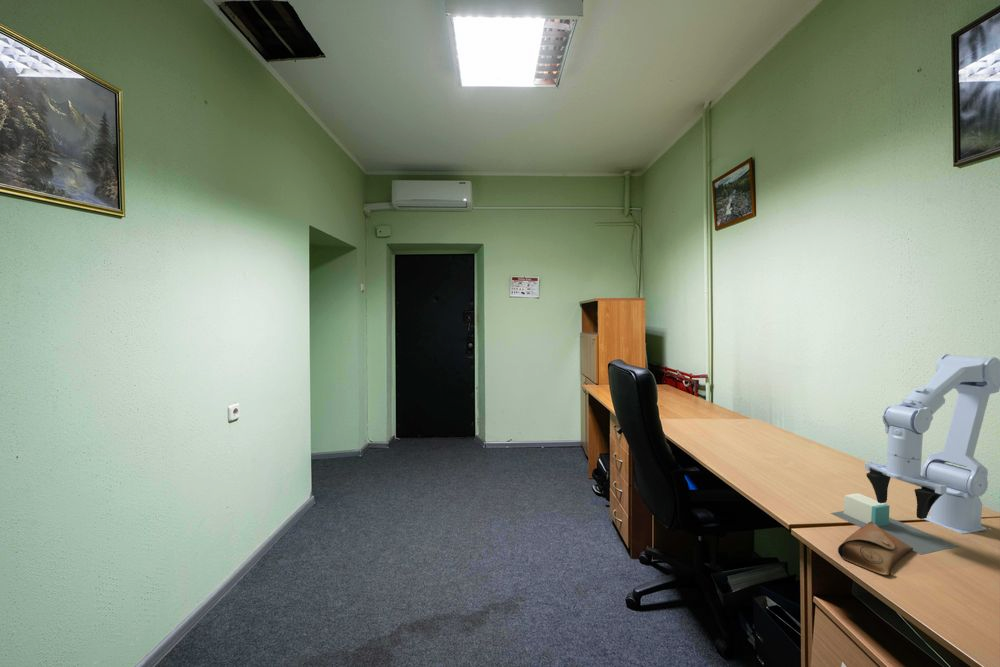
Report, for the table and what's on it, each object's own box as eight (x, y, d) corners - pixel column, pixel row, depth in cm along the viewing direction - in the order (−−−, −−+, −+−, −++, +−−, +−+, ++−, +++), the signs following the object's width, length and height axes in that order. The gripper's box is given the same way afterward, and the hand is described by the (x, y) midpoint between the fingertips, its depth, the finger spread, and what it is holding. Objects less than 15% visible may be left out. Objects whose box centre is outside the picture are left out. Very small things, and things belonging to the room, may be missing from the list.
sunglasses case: (890, 576, 77) (868, 541, 80) (851, 577, 82) (832, 543, 85) (915, 548, 86) (895, 516, 89) (878, 549, 92) (860, 520, 94)
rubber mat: (864, 508, 106) (864, 507, 106) (958, 547, 88) (958, 546, 88) (830, 514, 103) (830, 513, 103) (920, 556, 85) (920, 554, 85)
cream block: (888, 524, 97) (856, 510, 104) (889, 505, 97) (857, 493, 104) (874, 527, 96) (843, 513, 103) (875, 507, 96) (844, 495, 103)
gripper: (857, 446, 98) (854, 497, 99) (933, 468, 84) (929, 527, 85) (876, 444, 100) (874, 494, 101) (954, 465, 86) (950, 523, 87)
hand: (901, 509), depth 93 cm, fingers open, 7 cm apart
